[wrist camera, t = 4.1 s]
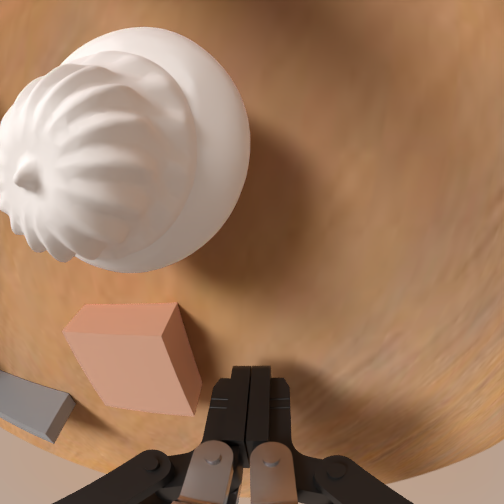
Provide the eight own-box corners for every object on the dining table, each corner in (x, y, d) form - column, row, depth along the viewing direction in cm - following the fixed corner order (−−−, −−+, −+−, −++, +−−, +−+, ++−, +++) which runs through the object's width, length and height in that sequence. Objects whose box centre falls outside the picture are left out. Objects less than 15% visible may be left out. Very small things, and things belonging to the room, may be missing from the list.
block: (179, 298, 12) (161, 335, 10) (203, 378, 14) (194, 416, 12) (87, 301, 13) (61, 331, 10) (121, 373, 15) (105, 405, 12)
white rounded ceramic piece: (112, 53, 8) (-38, 16, 2) (278, 74, 8) (292, -33, 2) (87, 207, 11) (-45, 294, 4) (232, 244, 11) (185, 403, 4)
